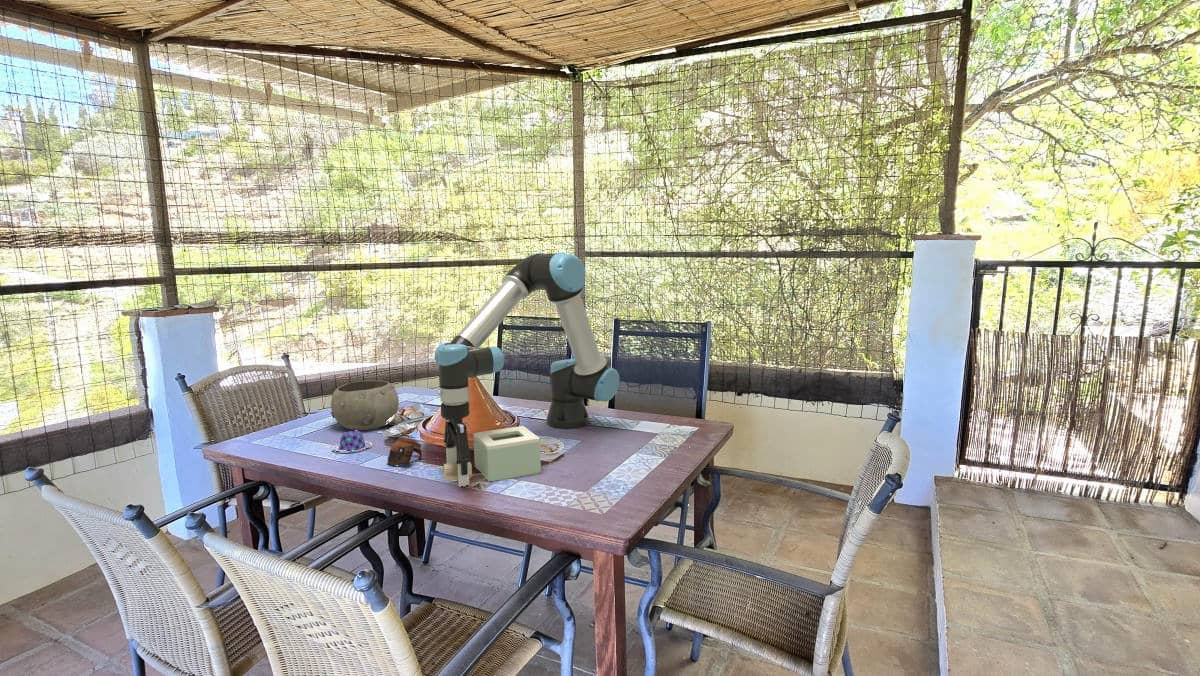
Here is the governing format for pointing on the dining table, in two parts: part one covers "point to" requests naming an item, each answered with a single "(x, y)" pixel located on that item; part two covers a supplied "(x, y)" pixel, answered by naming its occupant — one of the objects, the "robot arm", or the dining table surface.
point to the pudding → (352, 441)
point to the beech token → (454, 471)
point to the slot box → (507, 453)
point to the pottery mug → (403, 451)
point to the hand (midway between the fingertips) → (457, 477)
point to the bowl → (364, 404)
